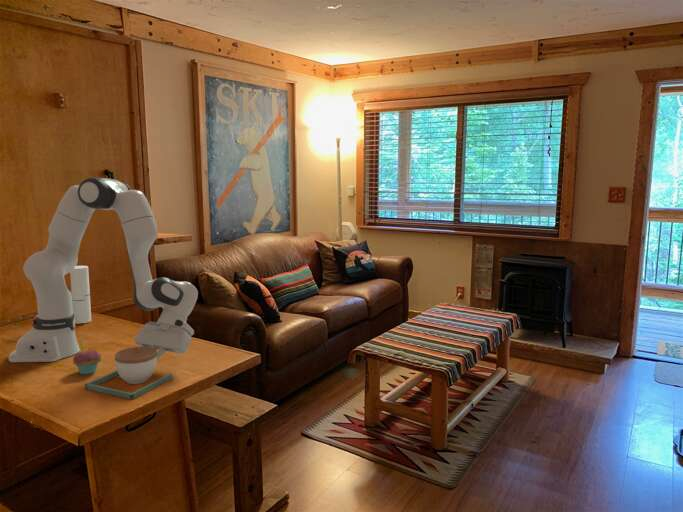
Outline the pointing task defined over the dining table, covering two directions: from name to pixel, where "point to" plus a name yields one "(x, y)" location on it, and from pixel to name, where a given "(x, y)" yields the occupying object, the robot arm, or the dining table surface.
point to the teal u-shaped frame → (94, 386)
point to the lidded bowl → (136, 364)
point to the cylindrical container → (80, 294)
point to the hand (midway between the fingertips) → (151, 360)
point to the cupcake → (86, 360)
